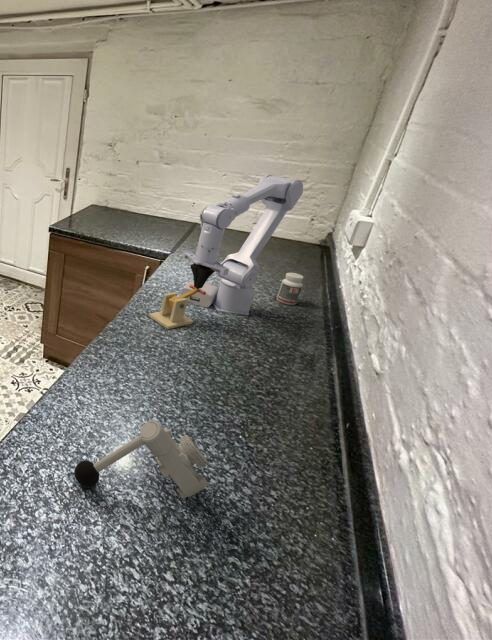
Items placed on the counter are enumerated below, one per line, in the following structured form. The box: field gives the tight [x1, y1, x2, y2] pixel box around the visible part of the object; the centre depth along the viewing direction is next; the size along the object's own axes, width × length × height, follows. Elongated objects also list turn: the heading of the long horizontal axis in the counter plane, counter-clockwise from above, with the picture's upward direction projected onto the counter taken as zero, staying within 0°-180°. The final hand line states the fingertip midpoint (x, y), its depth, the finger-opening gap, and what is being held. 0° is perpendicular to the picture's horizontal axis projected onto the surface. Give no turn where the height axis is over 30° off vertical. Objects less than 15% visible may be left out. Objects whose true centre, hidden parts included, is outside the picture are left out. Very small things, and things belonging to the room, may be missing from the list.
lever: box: [168, 285, 206, 308], centre depth 121 cm, size 11×6×2 cm, turn 111°
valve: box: [74, 419, 209, 499], centre depth 69 cm, size 10×20×15 cm
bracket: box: [148, 291, 194, 330], centre depth 121 cm, size 10×8×8 cm
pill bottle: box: [276, 272, 305, 306], centre depth 135 cm, size 6×6×10 cm
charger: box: [179, 280, 219, 308], centre depth 137 cm, size 5×9×15 cm
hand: (198, 287), depth 122 cm, fingers closed
